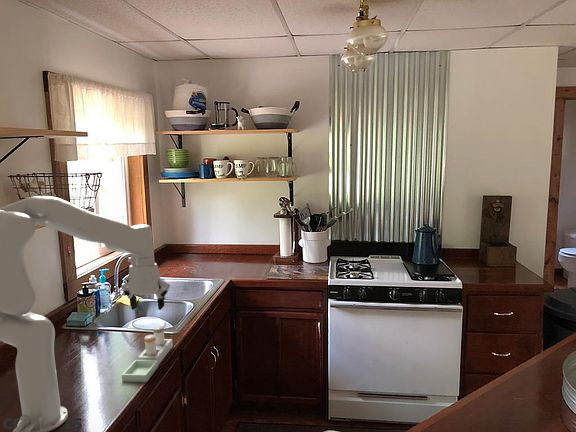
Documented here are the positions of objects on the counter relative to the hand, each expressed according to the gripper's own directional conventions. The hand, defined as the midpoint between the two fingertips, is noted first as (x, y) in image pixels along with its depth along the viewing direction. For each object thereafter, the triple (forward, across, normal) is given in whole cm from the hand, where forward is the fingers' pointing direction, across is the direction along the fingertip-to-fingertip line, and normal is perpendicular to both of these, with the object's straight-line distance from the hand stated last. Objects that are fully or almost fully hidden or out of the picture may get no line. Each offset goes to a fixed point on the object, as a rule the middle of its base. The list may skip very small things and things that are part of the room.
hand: (147, 308), depth 162 cm
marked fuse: (+20, 0, 0) cm, 20 cm away
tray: (+19, 0, -10) cm, 22 cm away
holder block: (+20, 0, +4) cm, 20 cm away
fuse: (+20, 0, +8) cm, 21 cm away
